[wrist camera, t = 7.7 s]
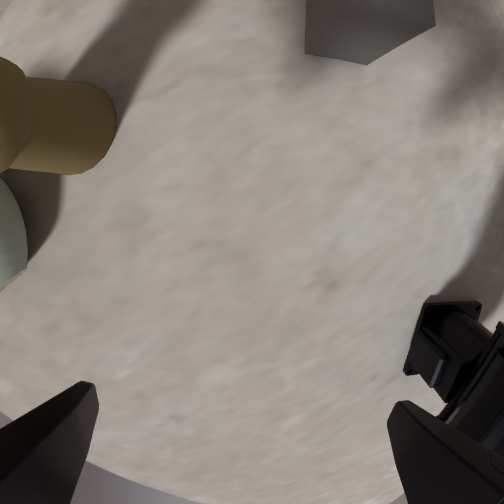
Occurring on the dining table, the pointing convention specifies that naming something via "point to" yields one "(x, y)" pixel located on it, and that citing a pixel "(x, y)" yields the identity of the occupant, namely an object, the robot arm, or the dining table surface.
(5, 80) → the cork
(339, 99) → the dining table surface
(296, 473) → the dining table surface
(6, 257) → the air freshener
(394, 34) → the tube
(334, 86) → the dining table surface
